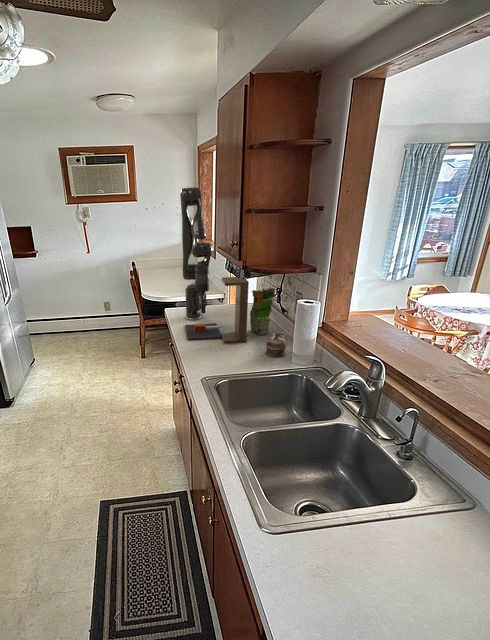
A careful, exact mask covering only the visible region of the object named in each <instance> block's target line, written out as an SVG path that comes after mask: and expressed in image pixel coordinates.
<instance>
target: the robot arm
mask: <svg viewBox="0 0 490 640" xmlns="http://www.w3.org/2000/svg"><path fill="white" fill-rule="evenodd" d="M179 193H180V194H179V198H180V211H181V244H182V245H181V246H182V269H181V270H182V278H183V280H184V281H193V282H191V283H189V284H187V285H185V287H184V288H185V318H186V320H189V321H196V320H200V319H202V314H206V307H207V293H206V292H209V291H210V262H211V257H212V255H213V246H212V244H211V243H210V242H203V241H205V240H206V239H207V233H206V227H205V220H204V206H203V204H204V203H203V194H202V190H201V188H200V187H198V186H192V187H191V186H190V187H182V188H181V190H180V192H179ZM188 207H196V210H195V214H194V215H193V218H192V216H190V213H189V210H188V209H189V208H188ZM191 256H193V257H194V258H203V259H202V260H199V261H197V262H196V263H189V261H190V258H191Z"/></svg>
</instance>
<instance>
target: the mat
mask: <svg viewBox="0 0 490 640" xmlns="http://www.w3.org/2000/svg"><path fill="white" fill-rule="evenodd" d="M204 324H205V326H218V325H217V323H216V322H215V323H204ZM185 331H186V336H187V341H202V340H219V339H220V340H221V339H222V337H221V332H220V330H219V329H206V332H195V331H194V324H185Z"/></svg>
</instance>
